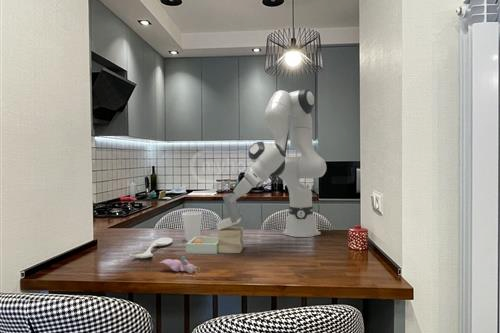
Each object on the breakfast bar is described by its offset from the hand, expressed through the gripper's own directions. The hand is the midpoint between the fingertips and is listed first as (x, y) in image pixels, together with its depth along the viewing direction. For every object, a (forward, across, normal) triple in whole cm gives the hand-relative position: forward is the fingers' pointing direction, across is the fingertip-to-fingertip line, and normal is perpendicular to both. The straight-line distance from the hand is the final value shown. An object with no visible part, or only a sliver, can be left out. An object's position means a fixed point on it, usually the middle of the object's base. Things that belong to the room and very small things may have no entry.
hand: (232, 200), depth 145 cm
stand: (+16, -1, +14) cm, 21 cm away
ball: (+24, -1, +2) cm, 24 cm away
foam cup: (+32, -18, -2) cm, 36 cm away
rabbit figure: (+25, +28, +6) cm, 38 cm away
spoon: (+40, +3, -9) cm, 41 cm away
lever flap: (+8, 0, +6) cm, 11 cm away
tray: (+24, -1, +6) cm, 25 cm away
